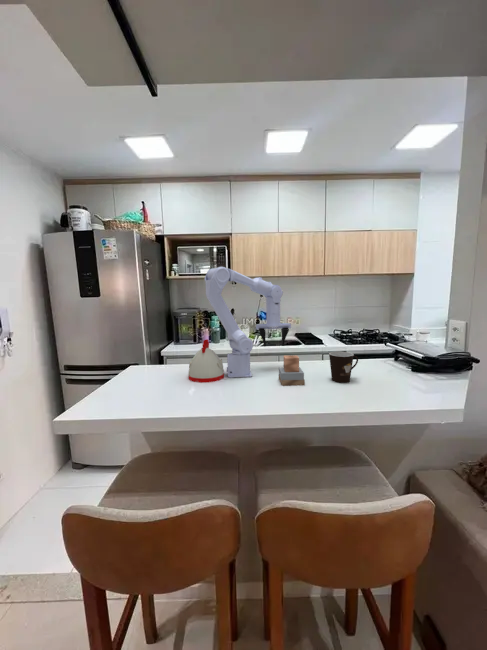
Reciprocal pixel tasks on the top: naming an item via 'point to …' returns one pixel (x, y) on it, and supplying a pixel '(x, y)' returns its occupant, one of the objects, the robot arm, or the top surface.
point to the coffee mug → (341, 366)
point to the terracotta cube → (291, 363)
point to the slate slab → (291, 375)
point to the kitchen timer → (206, 366)
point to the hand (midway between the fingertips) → (273, 345)
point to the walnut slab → (291, 382)
